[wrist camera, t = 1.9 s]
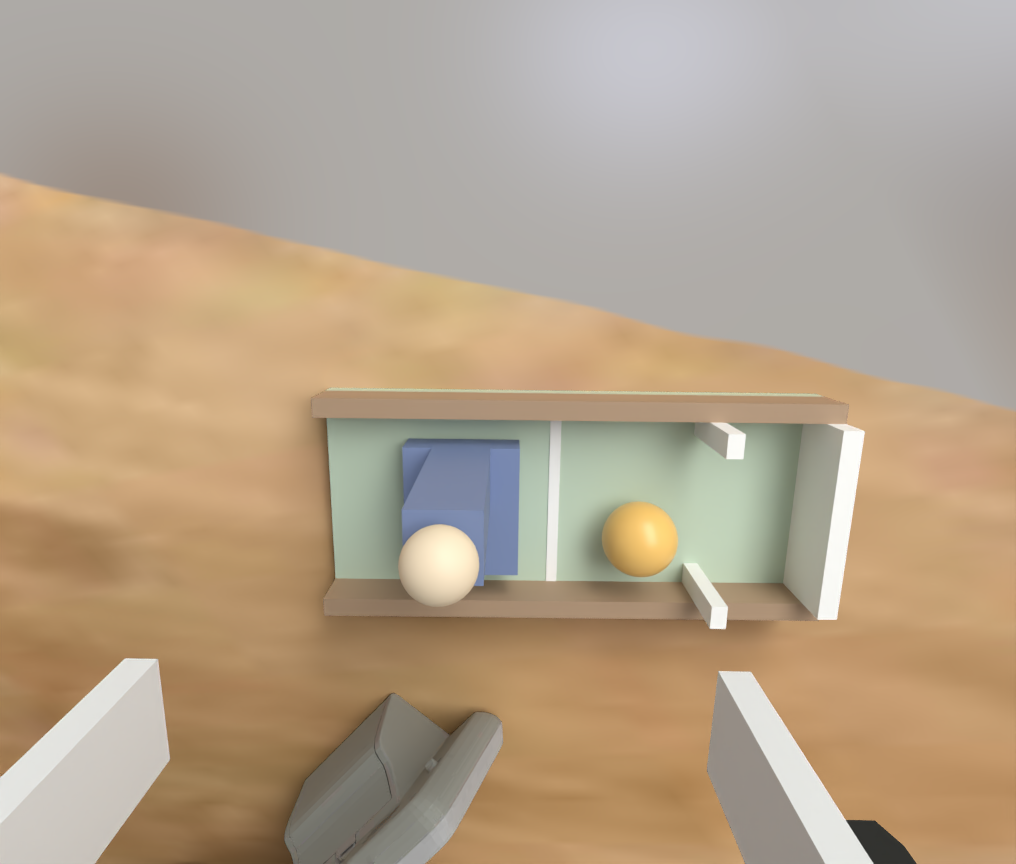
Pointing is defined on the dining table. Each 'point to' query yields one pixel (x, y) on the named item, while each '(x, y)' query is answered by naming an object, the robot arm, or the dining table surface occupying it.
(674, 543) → the ball
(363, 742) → the digital clock
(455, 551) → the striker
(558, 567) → the pitch
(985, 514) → the dining table surface
